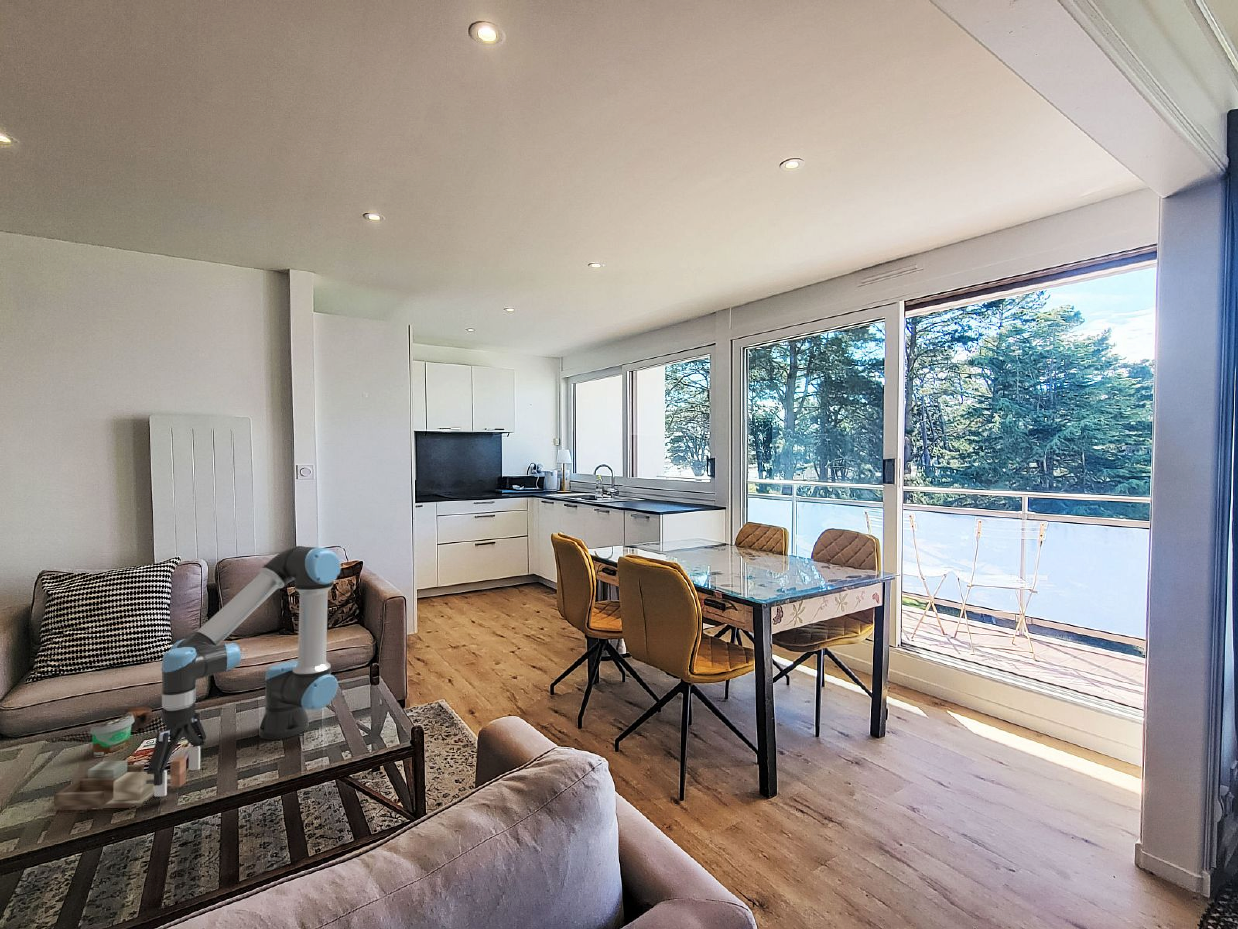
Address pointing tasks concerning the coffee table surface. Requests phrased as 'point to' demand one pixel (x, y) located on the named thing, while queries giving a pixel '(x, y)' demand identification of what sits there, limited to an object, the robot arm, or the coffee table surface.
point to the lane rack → (98, 788)
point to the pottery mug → (140, 717)
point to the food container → (112, 735)
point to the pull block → (147, 781)
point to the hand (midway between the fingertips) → (178, 782)
